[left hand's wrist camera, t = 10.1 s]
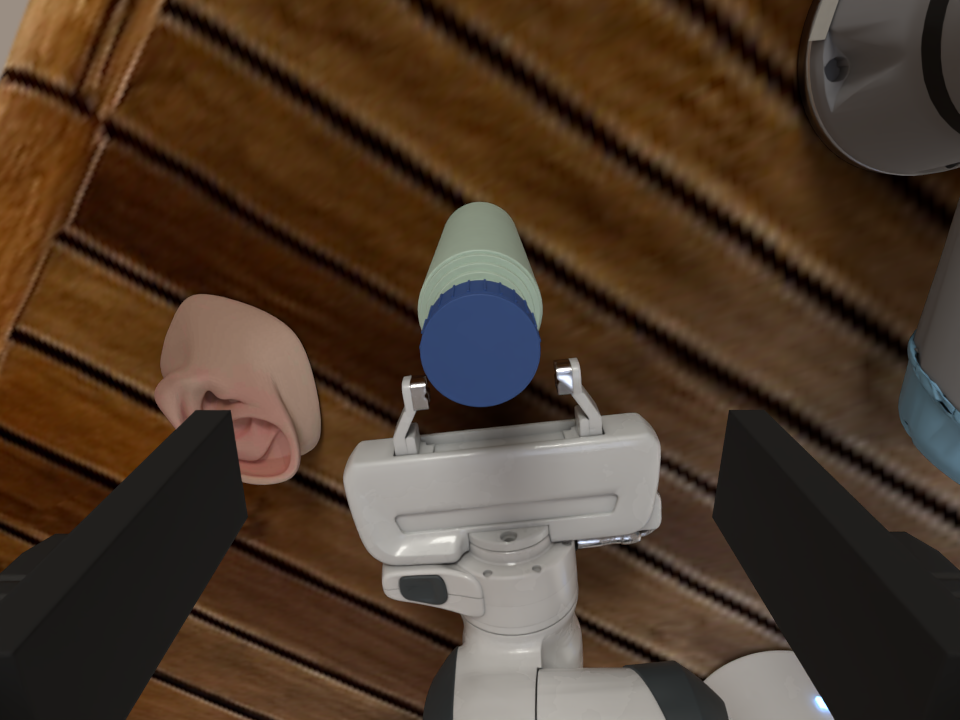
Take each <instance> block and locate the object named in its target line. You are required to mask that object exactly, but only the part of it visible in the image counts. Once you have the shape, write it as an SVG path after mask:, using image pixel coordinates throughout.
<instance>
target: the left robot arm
mask: <svg viewBox="0 0 960 720" xmlns="http://www.w3.org/2000/svg"><path fill="white" fill-rule="evenodd" d="M798 81H799V90H800V95H801V99H802V103H803V106H804V109H805V112H806V115H807V117H808V119H809V122H810V124H811V126H812V127H813V129H814V131H815V132H816V134H817V135H818V137H819V138H820V139H821V141H822V142H823V143H824V144H825V145H826V146H827V147H828V148H829V149H830V150H831V151H832V152H833V153H835V154H836V155H837V156H838V157H840V158H841V159H843V160H844V161H846V162H848V163H850V164H852V165H854V166H856V167H858V168H861V169H864V170H867V171H871V172H876V173H883V174H892V175H902V176H914V175H924V174H932V173H938V172H944V171H948V170H952V169H955V168H958V167H960V0H813V2H812V4H811V7H810V9H809V12H808V15H807V18H806V21H805V24H804V28H803V32H802V36H801V41H800V47H799V56H798ZM907 350H908V358H909V361H908V365H907V369H906V373H905V377H904V381H903V385H902V388H901V392H900V396H899V405H898V409H899V416H900V420H901V423H902V425H903V426H904V428H905V430H906V432H907V433H908V435H909V436H910V437H911V438H912V442H913V443H914V445H915V446H916V448H917V449H918V450H919V451H920V452H921V453H922V454H923V455H924V456H925V457H926V458H927V459H928V460H929V461H930V462H931V463H932V464H933V465H934V466H936V467H937V468H938V469H939V470H940V471H942V472H943V473H944V474H945V475H947V476H948V477H949V478H951V479H952V480H954V481H955V482H956V483H958V484H959V485H960V198H959V201H958V204H957V208H956V211H955V214H954V217H953V220H952V224H951V227H950V230H949V233H948V236H947V239H946V243H945V246H944V249H943V252H942V255H941V258H940V261H939V264H938V267H937V270H936V273H935V276H934V279H933V282H932V285H931V288H930V291H929V294H928V297H927V300H926V303H925V306H924V309H923V312H922V315H921V318H920V321H919V324H918V327H917V329H916V330H915V331H914V333H913V335H912V336H911V337H910V340H909V342H908V348H907ZM247 517H248V516H247V509H246V503H245V497H244V490H243V484H242V478H241V471H240V465H239V459H238V452H237V446H236V440H235V433H234V427H233V421H232V414H231V410H195V411H194V412H193V413H192V414H191V415H190V416H189V417H188V418H187V419H186V420H185V421H184V422H183V423H182V424H181V425H180V426H179V427H178V428H177V429H176V430H175V431H174V432H173V433H172V434H171V435H170V436H169V437H168V438H167V439H166V440H165V441H164V442H162V443H161V444H160V445H159V446H158V447H157V448H156V449H155V450H154V451H153V452H152V453H151V454H150V455H149V456H148V457H147V458H146V459H145V460H144V461H143V462H142V463H141V464H140V465H139V466H138V467H137V468H136V469H135V470H134V471H133V472H132V473H131V474H130V475H129V476H128V477H127V478H126V479H125V480H124V481H123V482H122V483H121V484H120V485H119V486H118V487H116V488H115V489H114V490H113V491H112V492H111V493H110V494H109V495H108V496H107V497H106V498H105V499H104V500H103V501H102V502H101V503H100V504H99V505H98V506H97V507H96V508H95V509H94V510H93V511H92V512H91V513H90V514H89V515H88V516H87V517H86V518H85V519H84V520H83V521H82V522H81V523H80V524H79V525H78V526H77V527H76V528H75V529H74V530H73V531H71V532H70V533H69V534H54V535H53V536H51V537H49V538H48V539H46V540H44V541H42V542H41V543H39V544H37V545H36V546H34V547H32V548H30V549H29V550H27V551H25V552H24V553H22V554H21V555H20V556H19V557H18V558H17V559H16V560H14V561H13V562H12V563H11V564H10V565H9V566H8V567H7V568H6V569H5V570H4V571H2V572H1V573H0V720H126V718H127V716H128V715H129V713H130V711H131V710H132V708H133V706H134V705H135V703H136V701H137V700H138V698H139V696H140V695H141V693H142V691H143V690H144V688H145V687H146V685H147V683H148V682H149V680H150V678H151V677H152V675H153V673H154V672H155V670H156V668H157V667H158V665H159V663H160V662H161V660H162V658H163V657H164V655H165V653H166V652H167V650H168V648H169V647H170V645H171V643H172V642H173V640H174V638H175V637H176V635H177V633H178V632H179V630H180V628H181V627H182V625H183V624H184V622H185V620H186V619H187V617H188V615H189V614H190V612H191V610H192V609H193V607H194V605H195V604H196V602H197V600H198V599H199V597H200V595H201V594H202V592H203V590H204V589H205V587H206V585H207V584H208V582H209V580H210V579H211V577H212V575H213V574H214V572H215V570H216V569H217V567H218V565H219V564H220V562H221V561H222V559H223V557H224V556H225V554H226V552H227V551H228V549H229V547H230V546H231V544H232V542H233V541H234V539H235V537H236V536H237V534H238V532H239V531H240V529H241V527H242V526H243V524H244V522H245V521H246V519H247ZM712 517H713V519H714V521H715V522H716V524H717V526H718V527H719V529H720V531H721V532H722V534H723V536H724V537H725V539H726V541H727V542H728V544H729V546H730V547H731V549H732V551H733V552H734V554H735V556H736V557H737V559H738V561H739V562H740V564H741V566H742V567H743V569H744V570H745V572H746V574H747V575H748V577H749V579H750V580H751V582H752V584H753V585H754V587H755V589H756V590H757V592H758V594H759V595H760V597H761V599H762V600H763V602H764V604H765V605H766V607H767V609H768V610H769V612H770V614H771V615H772V617H773V619H774V620H775V622H776V624H777V625H778V627H779V629H780V630H781V632H782V633H783V635H784V637H785V638H786V640H787V642H788V643H789V645H790V647H791V648H792V650H793V652H794V653H795V655H796V657H797V658H798V660H799V662H800V663H801V665H802V667H803V668H804V670H805V672H806V673H807V675H808V677H809V678H810V680H811V682H812V683H813V685H814V687H815V688H816V690H817V692H818V693H819V695H820V696H821V698H822V700H823V701H824V703H825V705H826V706H827V708H828V710H829V711H830V713H831V715H832V716H833V718H834V720H960V570H958V569H957V568H956V567H955V566H954V565H953V564H952V563H951V562H950V561H949V560H947V559H946V558H945V557H944V556H943V555H942V554H941V553H940V552H939V551H937V550H935V549H934V548H932V547H930V546H929V545H927V544H925V543H923V542H922V541H920V540H918V539H917V538H915V537H913V536H911V535H910V534H908V533H906V532H889V531H887V530H886V529H885V528H884V527H883V526H882V525H881V524H880V523H879V522H878V521H877V520H876V519H875V518H874V517H873V516H872V515H871V514H870V513H869V512H868V511H867V510H866V509H865V508H864V507H863V506H862V505H861V504H860V503H859V502H858V501H857V500H856V499H855V498H854V497H853V496H852V495H851V494H850V493H849V492H848V491H847V490H846V489H845V488H844V487H842V486H841V485H840V484H839V483H838V482H837V481H836V480H835V479H834V478H833V477H832V476H831V475H830V474H829V473H828V472H827V471H826V470H825V469H824V468H823V467H822V466H821V465H820V464H819V463H818V462H817V461H816V460H815V459H814V458H813V457H812V456H811V455H810V454H809V453H808V452H807V451H806V450H805V449H804V448H803V447H802V446H801V445H800V444H799V443H798V442H796V441H795V440H794V439H793V438H792V437H791V436H790V435H789V434H788V433H787V432H786V431H785V430H784V429H783V428H782V427H781V426H780V425H779V424H778V423H777V422H776V421H775V420H774V419H773V418H772V417H771V416H770V415H769V414H768V413H767V412H766V411H765V410H729V414H728V421H727V427H726V433H725V440H724V446H723V452H722V459H721V465H720V471H719V478H718V484H717V490H716V497H715V503H714V509H713V516H712Z"/></svg>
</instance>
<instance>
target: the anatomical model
mask: <svg viewBox="0 0 960 720" xmlns="http://www.w3.org/2000/svg"><path fill="white" fill-rule="evenodd" d="M160 366H161V372H162V375H163V377H164V379H163V380H162V381H161V382H160V383H159V384H158V386H157V387H156V389H155V394H154V396H155V400H156V403H157V404H158V406H159V408H160V409H161V411H162V412H163V413H164V415H165V416H166V417H167V418H168V420H169V421H170V422H171V424H172V425H173V426H174V428H175V429H177V428H178V427H179V426H180V425H181V424H182V423H183V422H184V421H185V420H186V419H187V418H188V417H189V416H190V415H191V414H192V413H193V412H194V411H195V410H231V414H232V421H233V427H234V433H235V440H236V446H237V452H238V459H239V465H240V471H241V478H242V482H245V483H250V484H259V485H267V484H276V483H280V482H284V481H286V480H288V479H290V478H292V477H293V476H294V475H295V473H296V472H297V470H298V468H299V466H300V461H301V455H304V454H306V453H307V452H309V451H311V450H312V449H313V448H314V447H315V446H316V445H317V443H318V441H319V438H320V433H321V416H320V408H319V401H318V395H317V390H316V386H315V381H314V377H313V373H312V370H311V366H310V363H309V360H308V357H307V355H306V352H305V350H304V348H303V346H302V344H301V342H300V340H299V339H298V337H297V336H296V334H295V333H294V332H293V331H292V330H291V329H290V328H289V327H288V326H287V325H285V324H284V323H283V322H282V321H280V320H279V319H277V318H275V317H274V316H272V315H270V314H268V313H267V312H265V311H262V310H260V309H258V308H256V307H253V306H250V305H248V304H245V303H242V302H239V301H235V300H232V299H228V298H225V297H220V296H215V295H208V294H197V295H193V296H190V297H188V298H187V299H186V300H185V301H184V302H183V303H182V304H181V305H180V307H179V308H178V310H177V312H176V313H175V316H174V318H173V320H172V323H171V325H170V327H169V330H168V332H167V335H166V337H165V341H164V345H163V350H162V355H161V364H160Z"/></svg>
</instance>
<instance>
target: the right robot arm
mask: <svg viewBox="0 0 960 720" xmlns="http://www.w3.org/2000/svg"><path fill="white" fill-rule="evenodd" d="M553 365H554V371H555V374H554V377H555V386H556V388H557V392H558V395H565V394H571V395H572V396H573V397H574V399H575V400H576V401H577V403H578V404H579V405H576V406H575V419H567V420H558V421H548V422H539V423H529V424H520V425H511V426H501V427H492V428H482V429H473V430H463V431H453V432H444V433H434V434H425V435H420V434H419V428H418V424H417V423H411V422H412V420H413V417H414V415H415V412H416V411H417V410H424V409H429V405H430V403H429V402H430V400H431V395H430V388H429V387H428V377H427V375H416V376H406V377H404V378H403V381H402V393H403V399H404V405H405V406H404V408H403V411H402V413H401V416H400V418H399V420H398V423H397V425H396V429H395V432H394V436H393V438H387V439H377V440H367V441H362V442H360V443H359V444H358V445H357V446H356V447H355V449H354V450H353V452H352V453H351V455H350V457H349V459H348V461H347V463H346V466H345V470H344V475H343V482H344V488H345V493H346V496H347V500H348V504H349V507H350V510H351V514H352V517H353V519H354V522H355V525H356V528H357V530H358V533H359V535H360V538H361V540H362V542H363V544H364V546H365V548H366V549H367V551H368V552H369V553H370V554H371V555H372V556H373V557H374V558H375V559H377V560H378V561H380V562H382V563H383V567H382V586H383V590H384V593H385V594H386V595H387V596H388V597H389V598H391V599H394V600H398V601H404V602H411V603H417V604H423V605H428V606H433V607H437V608H442V609H446V610H449V611H453V612H456V613H459V614H460V615H461V617H462V619H463V622H464V630H463V645H462V646H460V647H459V646H457V647H456V648H455V649H454V650H453V651H452V652H451V653H450V655H449V656H448V657H447V659H446V660H445V662H444V663H443V665H442V666H441V668H440V670H439V671H438V673H437V674H436V676H435V677H434V679H433V681H432V684H431V686H430V689H429V691H428V695H427V698H426V702H425V707H424V713H423V720H834V718H833V716H832V715H831V713H830V711H829V710H828V708H827V706H826V705H825V703H824V701H823V700H822V698H821V696H820V695H819V693H818V692H817V690H816V688H815V687H814V685H813V683H812V682H811V680H810V678H809V677H808V675H807V673H806V672H805V670H804V668H803V667H802V665H801V663H800V662H799V660H798V658H797V657H796V655H795V653H794V652H793V651H786V650H774V651H764V652H758V653H754V654H750V655H747V656H744V657H741V658H738V659H736V660H733V661H731V662H729V663H727V664H725V665H724V666H722V667H720V668H719V669H717V670H716V671H715V672H713V673H712V674H711V675H710V676H708V677H707V678H706V679H705V680H704V681H702V680H701V679H699V678H698V677H697V676H695V675H694V674H693V673H692V672H690V671H689V670H688V669H686V668H685V667H683V666H682V665H680V664H679V663H677V662H676V661H665V662H655V663H645V664H635V665H625V666H623V667H622V668H583V646H582V634H581V628H580V624H579V621H578V619H577V617H576V615H575V612H574V611H575V608H576V604H577V600H578V579H577V565H576V553H575V551H576V550H577V549H585V548H595V547H602V546H606V545H612V544H624V545H626V544H634V543H637V542H640V541H641V537H643V536H646V535H648V534H650V533H652V532H653V531H654V530H655V529H657V528H658V527H659V525H660V523H661V517H662V507H661V496H660V494H659V492H658V490H657V488H658V482H659V473H660V460H661V446H660V442H659V439H658V437H657V435H656V433H655V431H654V429H653V428H652V426H651V425H650V424H649V423H648V422H647V421H646V420H645V419H644V418H643V417H642V416H640V415H639V414H637V413H624V414H615V415H605V416H601V415H600V412H599V410H598V408H597V405H596V403H595V402H594V400H593V399H592V398H591V396H590V395H589V394H588V392H587V391H586V390H585V388H584V387H583V386H582V384H581V371H580V365H579V362H578V360H577V358H570V359H561V360H554V361H553ZM640 530H642V531H640Z"/></svg>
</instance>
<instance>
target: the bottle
mask: <svg viewBox="0 0 960 720" xmlns="http://www.w3.org/2000/svg"><path fill="white" fill-rule="evenodd" d="M484 279H486V280H487V281H493V282H497V283H499V282H501V283H502V285H505V286H507V287H508V288H510V289H512V290H513V289H514V290H515V291H516V293H517V294H518V295H519V296H520V297H521V298H522V299H523V300H526V302H527V305H528V307H529V309H530V311H531V313H533V314H534V317H535V320H536V324H537V329H538V331H539V328H540V325H541V320H542V311H543V306H542V298H541V294H540V291H539V288H538V285H537V283H536V280H535V277H534V275H533V272H532V269H531V267H530V264H529V261H528V259H527V256H526V253H525V251H524V248H523V245H522V243H521V240H520V237H519V235H518V232H517V229H516V227H515V224H514V222H513V221H512V219H511V217H510V216H509V215H508V214H507V213H506V212H505V211H504V210H503V209H501V208H500V207H498V206H496V205H494V204H491V203H486V202H474V203H470V204H467V205H464V206H462V207H461V208H459V209H458V210H456V211H455V212H454V213H453V214H452V215H451V216H450V218H449V219H448V221H447V223H446V225H445V227H444V230H443V233H442V236H441V238H440V241H439V244H438V246H437V249H436V252H435V254H434V257H433V260H432V262H431V265H430V268H429V271H428V273H427V276H426V279H425V281H424V284H423V287H422V289H421V292H420V296H419V301H418V318H419V323H420V327H421V330H422V328H423V325H424V321H425V319H427V317H428V314H429V310H430V307H431V305H434V303H435V302H436V301H437V299H438V298H439V297H440V294H441V293H442V294H443V293H445V292H446V291H447V290H449V289H450V288H452V287H453V285H455V286H456V285H458V284H461V283H464V282H467V281H468V280H470V281H473V280H484Z"/></svg>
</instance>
